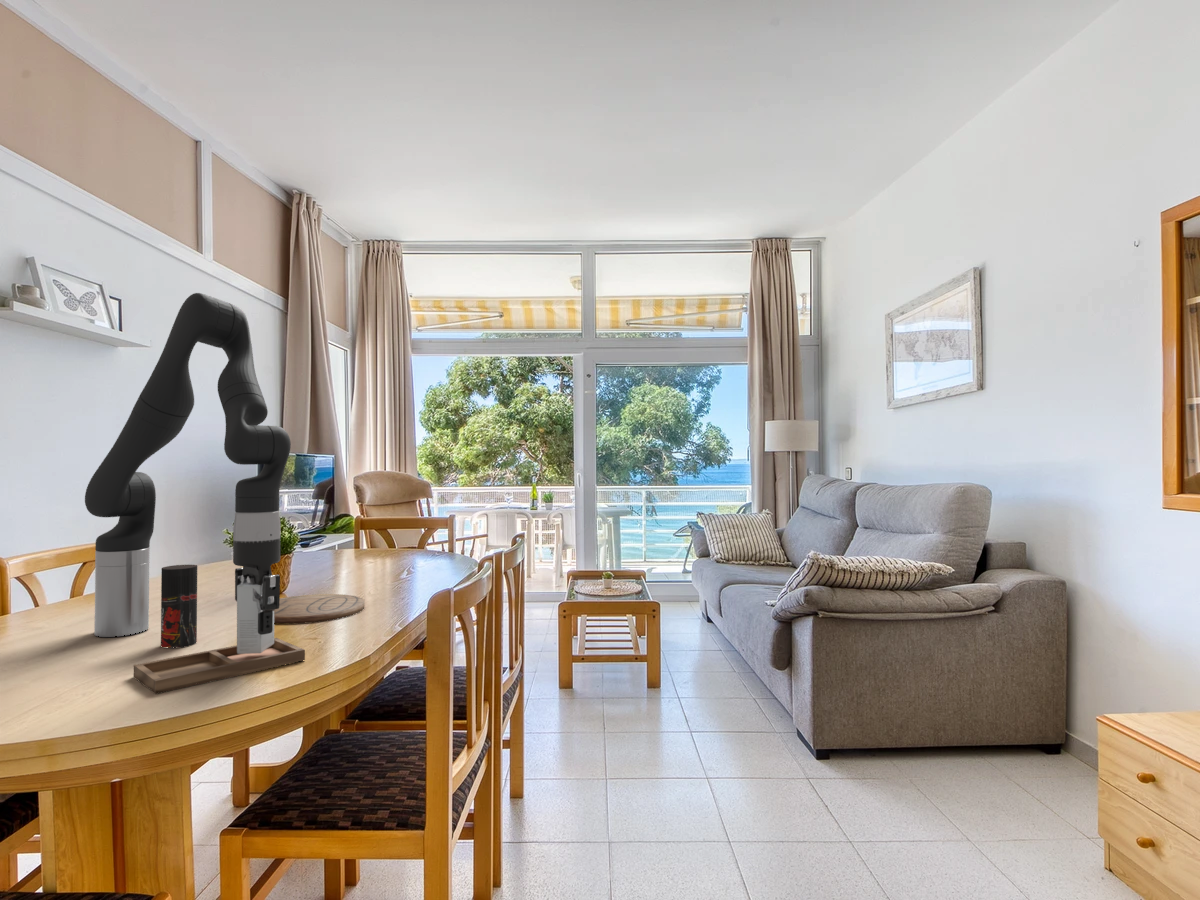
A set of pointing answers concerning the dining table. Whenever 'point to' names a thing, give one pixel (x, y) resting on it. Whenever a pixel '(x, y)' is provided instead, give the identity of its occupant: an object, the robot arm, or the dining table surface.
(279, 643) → the two-section desk tray
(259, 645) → the skincare box
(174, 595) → the deodorant
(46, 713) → the dining table surface
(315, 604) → the trivet
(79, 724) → the dining table surface
